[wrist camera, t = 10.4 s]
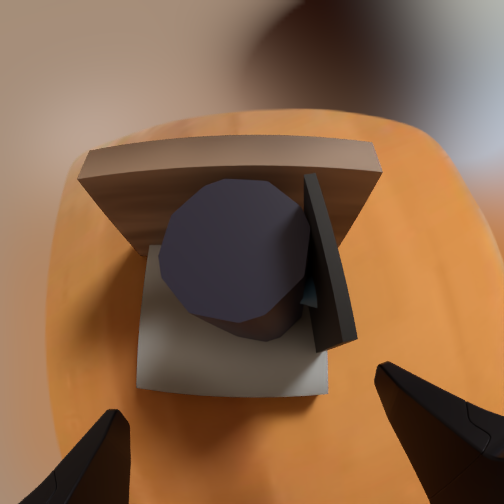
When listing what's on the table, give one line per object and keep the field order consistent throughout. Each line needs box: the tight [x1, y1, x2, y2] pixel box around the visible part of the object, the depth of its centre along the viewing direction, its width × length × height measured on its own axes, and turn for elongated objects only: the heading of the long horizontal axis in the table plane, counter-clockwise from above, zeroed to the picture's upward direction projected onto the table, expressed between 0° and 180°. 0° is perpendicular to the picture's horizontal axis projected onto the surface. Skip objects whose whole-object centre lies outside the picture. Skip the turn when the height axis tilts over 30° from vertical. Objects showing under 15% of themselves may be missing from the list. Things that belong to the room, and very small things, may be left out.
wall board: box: [77, 135, 383, 397], centre depth 15 cm, size 12×15×10 cm
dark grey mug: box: [158, 173, 358, 353], centre depth 13 cm, size 8×6×10 cm
